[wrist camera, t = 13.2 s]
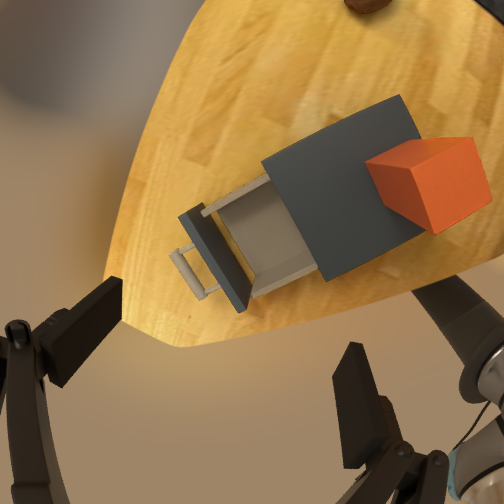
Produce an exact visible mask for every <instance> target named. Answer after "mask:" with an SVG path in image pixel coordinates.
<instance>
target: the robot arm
mask: <svg viewBox="0 0 504 504" xmlns="http://www.w3.org/2000/svg"><path fill="white" fill-rule="evenodd" d="M122 286H123V279H120V278H117V277H114V276H110V277H109V278H108V279H107V280H105V281H104V282H103V283H102V284H101V285H99V286H98V287H97V288H96V289H94V290H93V291H92V292H91V293H89V294H88V295H87V296H86V297H85V298H83V299H82V300H81V301H80V302H79V303H77V304H76V305H75V306H74V307H73V308H72V309H70V310H68V309H65V308H63V309H60V310H58V311H56V312H54V313H53V314H52V315H51V316H50V317H49V318H47V319H46V320H45V322H42V323H41V324H40V325H39V326H38V327H36V328H35V329H34V330H33V331H32V332H31V329H30V325H29V324H28V322H26V321H24V320H13V321H11V322H9V323H8V324H7V325H6V326H5V332H6V336H7V338H5V337H2V336H0V414H1V409H2V406H3V402H4V398H5V394H6V410H7V428H8V440H9V449H10V457H11V465H12V471H13V477H14V484H13V485H12V486H11V494H12V499H13V503H14V504H70V502H69V500H68V497H67V493H66V490H65V487H64V483H63V480H62V477H61V473H60V469H59V465H58V461H57V457H56V452H55V448H54V443H53V439H52V433H51V428H50V422H49V416H48V409H47V402H46V393H45V385H44V379H43V377H44V376H45V375H46V374H48V377H49V380H50V382H52V383H53V384H55V385H57V386H58V387H60V388H63V386H64V385H65V384H66V383H67V382H68V380H69V379H70V378H71V377H72V376H73V374H74V373H75V372H76V371H77V370H78V368H79V367H80V366H81V365H82V364H83V362H84V361H85V360H86V359H87V358H88V357H89V356H90V354H91V353H92V352H93V351H94V349H96V347H97V346H98V345H99V344H100V343H101V342H102V340H103V339H104V338H105V337H106V336H107V335H108V333H109V332H110V331H111V330H112V329H113V328H114V327H115V326H116V325H117V323H118V322H119V321H120V320H121V319H122ZM332 379H333V386H334V393H335V400H336V407H337V415H338V422H339V430H340V438H341V446H342V454H343V455H342V456H343V465H344V469H359V468H360V467H361V466H362V465H363V464H364V463H365V465H366V470H365V471H364V472H363V473H362V474H361V475H359V476H358V477H357V478H356V479H355V480H356V482H354V484H353V485H352V486H351V487H350V488H349V490H348V491H347V492H346V493H345V494H344V495H343V496H342V497H341V499H340V500H339V501H338V502H337V503H336V504H386V502H387V501H388V499H389V498H390V496H391V494H392V493H393V492H394V490H395V492H394V495H393V498H392V501H391V504H444V502H445V496H446V489H447V487H448V492H449V494H450V496H451V497H452V498H453V499H454V500H456V501H458V500H460V501H461V503H462V504H504V341H503V342H502V343H500V344H499V345H498V346H497V347H496V348H495V349H494V350H493V351H492V352H491V353H490V354H489V356H488V357H487V358H486V360H485V361H484V362H483V364H482V366H481V368H480V369H479V372H478V374H477V377H476V387H477V389H478V390H479V392H480V394H481V395H483V396H484V397H486V398H487V399H488V400H489V401H488V402H487V404H486V405H485V407H484V408H483V409H482V411H481V413H480V414H479V416H478V418H477V419H476V421H475V423H474V424H473V426H472V427H471V429H470V430H469V431H468V433H467V434H466V435H465V436H464V437H463V438H462V439H461V441H460V442H459V443H458V444H457V445H456V446H455V447H454V448H453V450H452V451H451V452H450V453H449V455H448V456H447V455H446V454H445V453H444V452H442V451H441V450H434V451H432V452H431V453H429V454H428V455H424V454H420V453H416V452H414V449H413V447H412V445H410V444H409V443H408V442H406V441H404V440H403V438H402V435H401V431H400V428H399V425H398V422H397V419H396V415H395V413H394V409H393V406H392V403H391V402H390V401H389V399H388V398H387V397H386V396H381V395H378V391H377V388H376V384H375V381H374V378H373V375H372V372H371V369H370V366H369V362H368V359H367V356H366V353H365V350H364V347H363V344H361V343H356V342H350V343H349V345H348V347H347V349H346V351H345V353H344V355H343V357H342V359H341V361H340V363H339V365H338V367H337V368H336V370H335V372H334V374H333V376H332ZM491 402H493V403H494V404H496V405H497V406H498V407H499V409H500V410H501V412H502V413H501V414H500V415H498V416H497V417H496V418H495V419H494V420H493V421H491V422H490V423H489V424H488V425H487V426H485V427H484V428H483V429H482V430H480V431H479V432H478V433H476V434H475V435H474V436H473V437H471V438H470V439H468V440H467V441H465V442H463V441H464V439H465V438H466V437H467V436H468V435H469V434H470V433H471V431H472V430H473V429H474V427H475V426H476V424H477V422H478V421H479V419H480V417H481V416H482V414H483V412H484V411H485V410H486V408H487V407H488V405H489V404H490V403H491ZM462 442H463V443H462ZM458 446H459V447H458Z"/></svg>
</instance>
